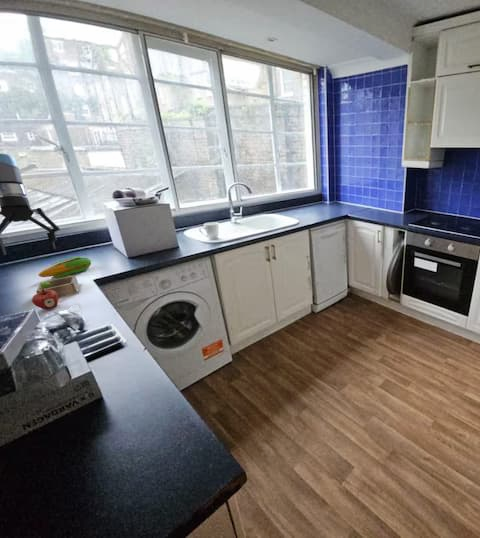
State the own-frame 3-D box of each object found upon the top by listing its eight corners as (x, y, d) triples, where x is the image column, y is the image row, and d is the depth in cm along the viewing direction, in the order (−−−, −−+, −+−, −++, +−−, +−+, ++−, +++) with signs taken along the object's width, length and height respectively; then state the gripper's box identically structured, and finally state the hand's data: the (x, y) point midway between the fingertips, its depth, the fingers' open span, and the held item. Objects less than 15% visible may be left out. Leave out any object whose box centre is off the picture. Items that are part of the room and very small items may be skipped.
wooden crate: (41, 301, 119) (35, 291, 117) (45, 292, 127) (40, 282, 125) (77, 293, 125) (73, 283, 123) (79, 284, 133) (74, 275, 131)
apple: (60, 309, 113) (48, 286, 109) (35, 315, 109) (22, 291, 105) (64, 301, 119) (53, 279, 115) (41, 306, 115) (29, 283, 111)
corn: (90, 254, 148) (37, 268, 132) (97, 268, 151) (45, 283, 134) (84, 253, 151) (31, 266, 135) (90, 266, 154) (39, 281, 138)
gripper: (60, 196, 121) (74, 247, 124) (-33, 200, 108) (-14, 257, 111) (55, 193, 115) (70, 246, 118) (-45, 197, 101) (-24, 257, 105)
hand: (29, 252), depth 114 cm, fingers open, 13 cm apart
